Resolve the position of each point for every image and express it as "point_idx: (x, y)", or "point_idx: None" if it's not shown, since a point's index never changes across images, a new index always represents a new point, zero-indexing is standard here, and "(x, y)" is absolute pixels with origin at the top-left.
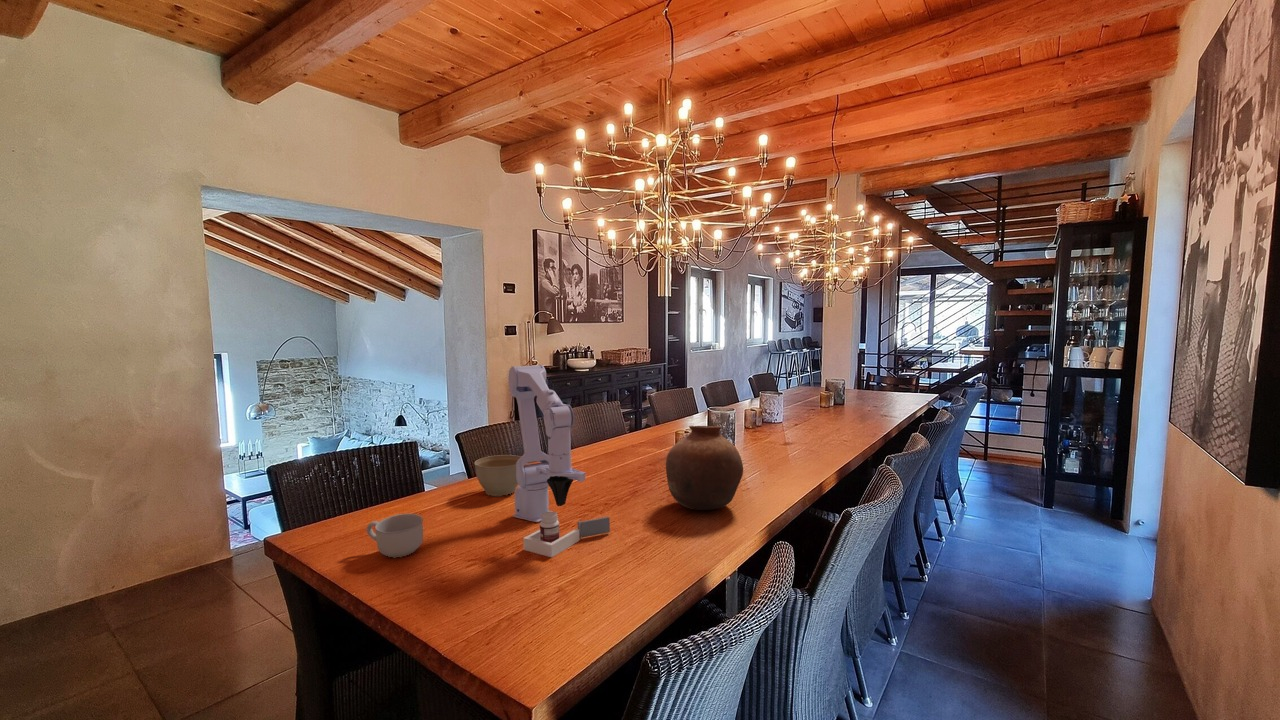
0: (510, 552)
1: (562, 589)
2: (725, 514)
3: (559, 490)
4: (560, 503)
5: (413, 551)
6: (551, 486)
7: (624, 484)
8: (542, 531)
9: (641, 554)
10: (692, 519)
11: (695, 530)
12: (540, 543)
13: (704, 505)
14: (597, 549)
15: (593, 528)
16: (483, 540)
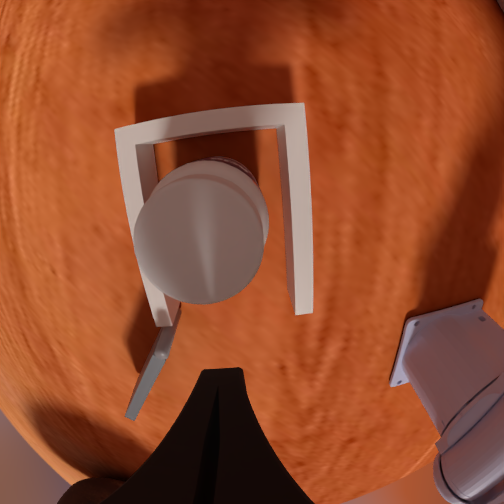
0: (319, 68)
1: (4, 51)
2: (87, 472)
3: (153, 473)
4: (196, 383)
5: (499, 2)
6: (269, 502)
7: (324, 496)
8: (209, 159)
9: (3, 312)
10: (97, 459)
11: (54, 429)
12: (183, 114)
13: (83, 480)
14: (73, 280)
15: (146, 363)
16: (464, 116)
